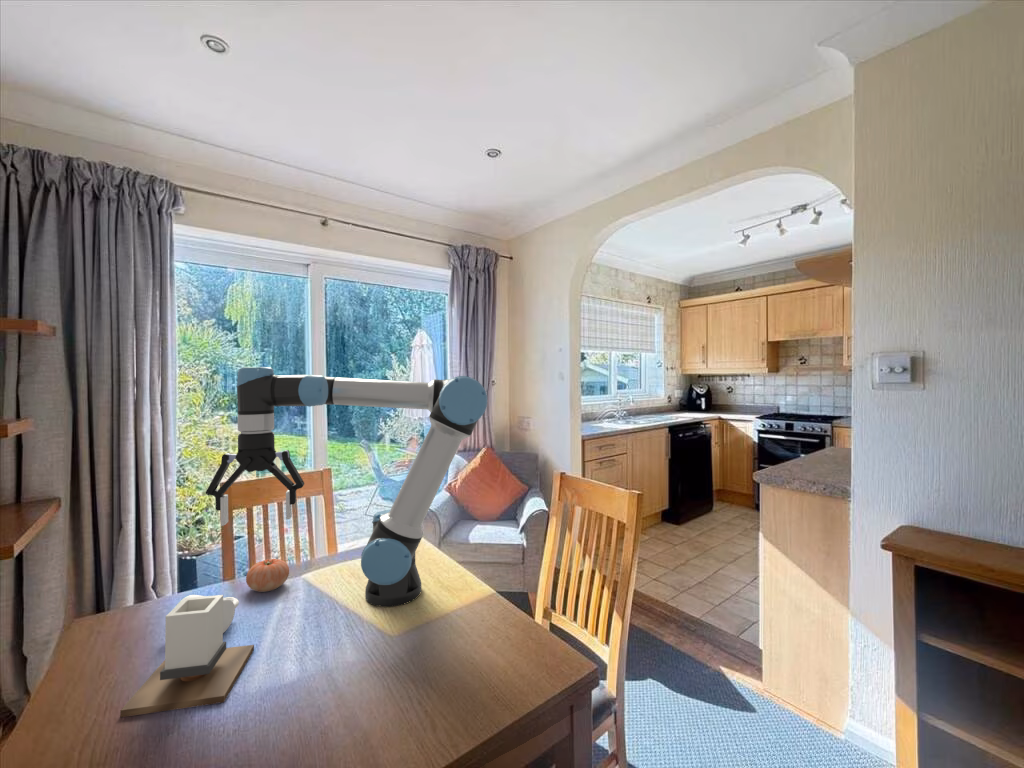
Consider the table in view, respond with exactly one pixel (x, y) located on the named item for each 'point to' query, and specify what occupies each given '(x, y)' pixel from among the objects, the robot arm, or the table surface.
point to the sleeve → (193, 632)
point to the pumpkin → (267, 575)
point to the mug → (224, 609)
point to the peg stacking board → (189, 686)
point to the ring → (193, 667)
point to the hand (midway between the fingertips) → (257, 520)
